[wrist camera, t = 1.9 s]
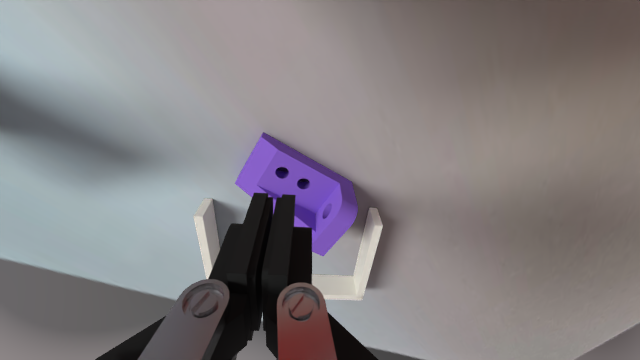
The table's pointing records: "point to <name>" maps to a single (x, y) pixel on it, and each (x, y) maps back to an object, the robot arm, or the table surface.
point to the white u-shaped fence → (327, 284)
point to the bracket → (302, 190)
